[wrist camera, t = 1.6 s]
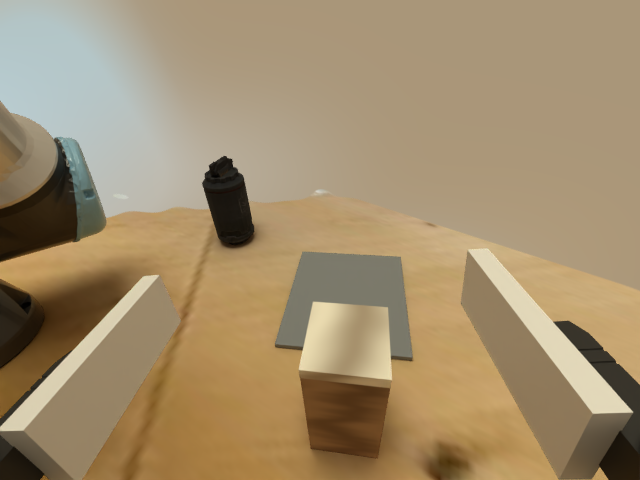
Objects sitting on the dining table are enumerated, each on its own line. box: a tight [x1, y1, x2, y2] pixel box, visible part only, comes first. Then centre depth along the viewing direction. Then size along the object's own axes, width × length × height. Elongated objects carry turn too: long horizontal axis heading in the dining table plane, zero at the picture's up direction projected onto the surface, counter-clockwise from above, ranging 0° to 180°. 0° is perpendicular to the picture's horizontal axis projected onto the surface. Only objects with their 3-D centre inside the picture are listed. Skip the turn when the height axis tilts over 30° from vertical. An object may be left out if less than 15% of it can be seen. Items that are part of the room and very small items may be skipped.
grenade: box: [202, 156, 254, 244], centre depth 51 cm, size 7×7×15 cm
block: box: [299, 302, 392, 458], centre depth 26 cm, size 6×6×13 cm
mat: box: [275, 252, 413, 361], centre depth 42 cm, size 16×18×1 cm
